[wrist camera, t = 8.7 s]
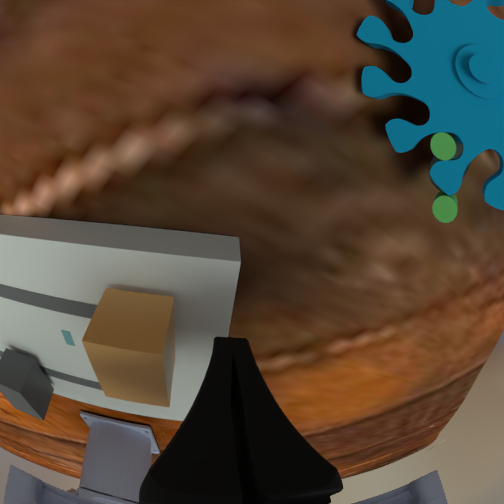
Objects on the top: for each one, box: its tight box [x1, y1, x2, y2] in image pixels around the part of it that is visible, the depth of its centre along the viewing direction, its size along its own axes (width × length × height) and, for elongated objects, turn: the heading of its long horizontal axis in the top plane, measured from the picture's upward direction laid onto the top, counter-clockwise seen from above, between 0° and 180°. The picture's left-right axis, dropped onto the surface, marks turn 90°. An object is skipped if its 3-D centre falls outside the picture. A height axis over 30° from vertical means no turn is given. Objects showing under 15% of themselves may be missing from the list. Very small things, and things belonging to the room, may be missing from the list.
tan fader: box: [82, 288, 176, 408], centre depth 10 cm, size 4×3×3 cm
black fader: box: [0, 348, 54, 420], centre depth 13 cm, size 4×3×3 cm
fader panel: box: [0, 215, 241, 421], centre depth 14 cm, size 15×22×2 cm
